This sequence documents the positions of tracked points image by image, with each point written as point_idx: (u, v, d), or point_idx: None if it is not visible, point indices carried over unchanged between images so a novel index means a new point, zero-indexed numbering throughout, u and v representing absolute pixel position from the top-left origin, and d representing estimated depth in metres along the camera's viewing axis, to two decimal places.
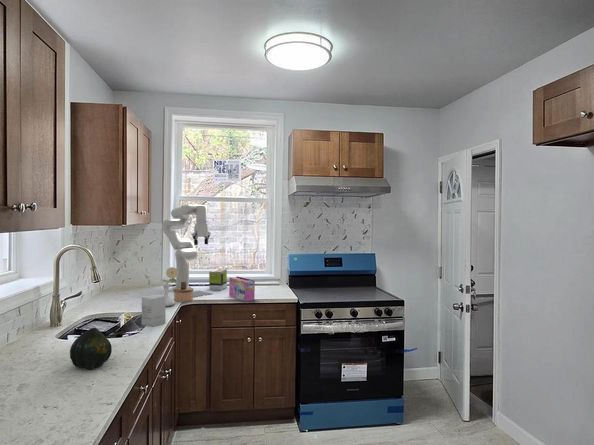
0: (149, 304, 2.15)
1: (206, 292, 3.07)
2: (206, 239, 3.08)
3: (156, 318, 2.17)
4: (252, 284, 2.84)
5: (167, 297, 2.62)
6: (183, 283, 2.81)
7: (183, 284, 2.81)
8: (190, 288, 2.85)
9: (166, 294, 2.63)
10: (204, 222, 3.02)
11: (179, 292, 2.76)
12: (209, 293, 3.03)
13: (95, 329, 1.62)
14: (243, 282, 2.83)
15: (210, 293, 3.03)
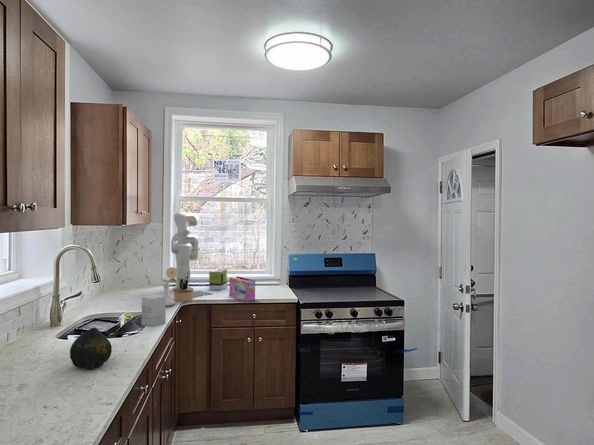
0: (149, 304, 2.15)
1: (206, 292, 3.07)
2: None
3: (156, 318, 2.17)
4: (252, 284, 2.84)
5: (167, 297, 2.62)
6: None
7: None
8: (190, 288, 2.85)
9: (166, 294, 2.63)
10: None
11: (179, 292, 2.76)
12: (209, 293, 3.03)
13: (95, 329, 1.62)
14: (244, 282, 2.83)
15: (210, 293, 3.03)
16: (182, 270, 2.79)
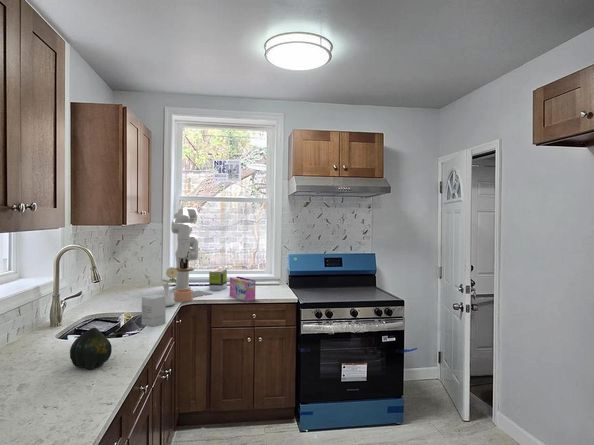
0: (149, 304, 2.15)
1: (206, 292, 3.07)
2: None
3: (156, 318, 2.17)
4: (252, 284, 2.84)
5: (167, 297, 2.62)
6: (183, 262, 2.81)
7: None
8: (190, 268, 2.85)
9: (166, 294, 2.63)
10: None
11: (179, 271, 2.76)
12: (209, 293, 3.03)
13: (95, 329, 1.62)
14: (244, 282, 2.83)
15: (210, 293, 3.03)
16: (182, 249, 2.79)
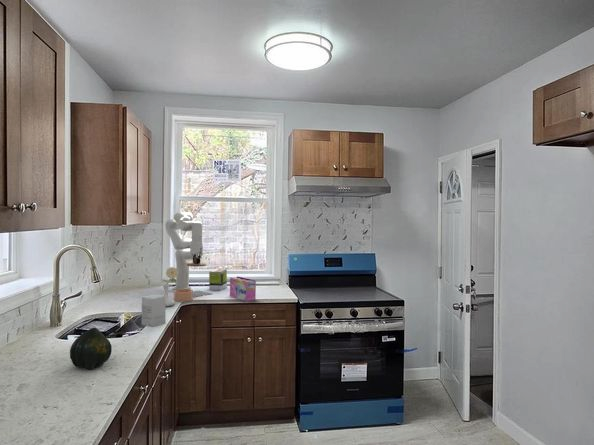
0: (149, 304, 2.15)
1: (206, 292, 3.07)
2: None
3: (156, 318, 2.17)
4: (253, 284, 2.84)
5: (167, 297, 2.62)
6: None
7: None
8: (202, 263, 3.04)
9: (166, 294, 2.63)
10: None
11: None
12: (209, 293, 3.03)
13: (95, 329, 1.62)
14: (244, 282, 2.83)
15: (210, 293, 3.03)
16: (195, 246, 2.98)
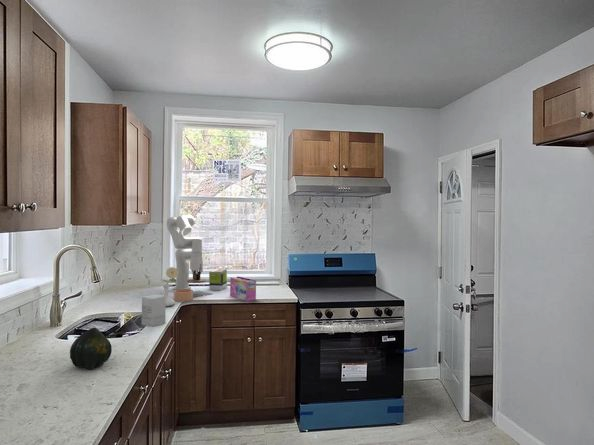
0: (149, 304, 2.15)
1: (206, 292, 3.07)
2: None
3: (156, 318, 2.17)
4: (253, 284, 2.84)
5: (167, 297, 2.62)
6: (196, 274, 3.00)
7: None
8: (202, 279, 3.04)
9: (166, 294, 2.63)
10: None
11: (193, 282, 2.95)
12: (209, 293, 3.03)
13: (95, 329, 1.62)
14: (244, 282, 2.83)
15: (210, 293, 3.03)
16: (195, 262, 2.98)
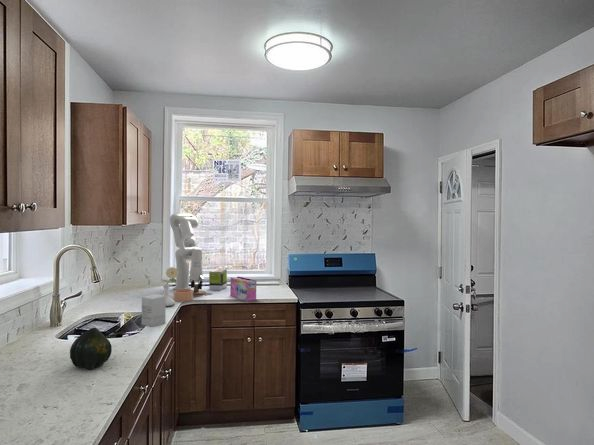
0: (149, 304, 2.15)
1: (206, 292, 3.07)
2: (194, 282, 3.05)
3: (156, 318, 2.17)
4: (253, 284, 2.84)
5: (167, 297, 2.62)
6: (196, 286, 3.00)
7: (196, 287, 3.00)
8: (202, 291, 3.04)
9: (166, 294, 2.63)
10: None
11: None
12: (209, 293, 3.03)
13: (95, 329, 1.62)
14: (245, 282, 2.83)
15: (210, 293, 3.03)
16: (195, 272, 2.98)
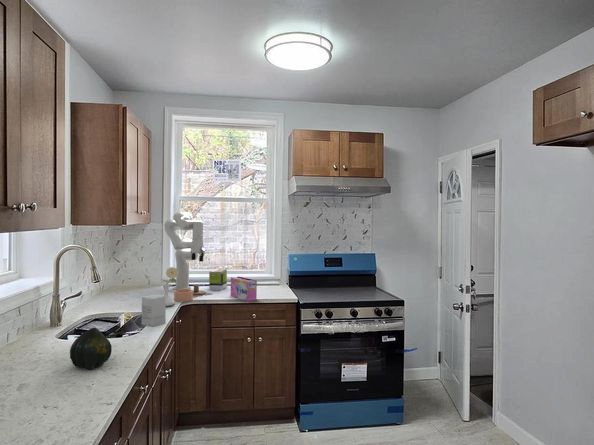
0: (149, 304, 2.15)
1: (206, 292, 3.07)
2: (194, 255, 3.06)
3: (156, 318, 2.17)
4: (254, 284, 2.85)
5: (167, 297, 2.62)
6: (196, 286, 3.00)
7: (196, 287, 3.00)
8: (202, 291, 3.04)
9: (166, 294, 2.63)
10: None
11: None
12: (209, 293, 3.03)
13: (95, 329, 1.62)
14: (245, 282, 2.83)
15: (210, 293, 3.03)
16: (196, 245, 2.98)
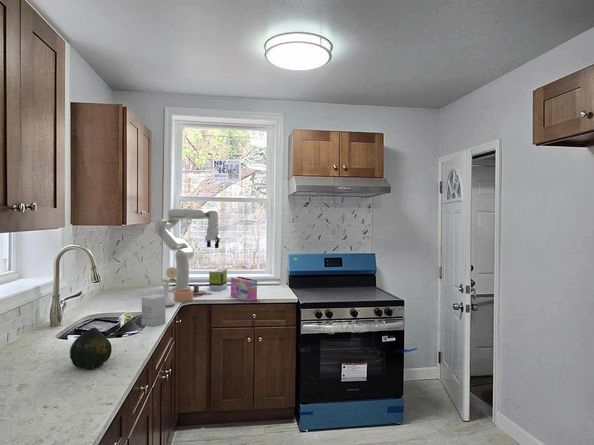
0: (149, 304, 2.15)
1: (206, 292, 3.07)
2: (210, 242, 3.20)
3: (156, 318, 2.17)
4: (254, 284, 2.85)
5: (167, 297, 2.62)
6: (196, 286, 3.00)
7: (196, 287, 3.00)
8: (202, 291, 3.04)
9: (166, 294, 2.63)
10: None
11: None
12: (209, 293, 3.03)
13: (95, 329, 1.62)
14: (245, 282, 2.83)
15: (210, 293, 3.03)
16: (212, 232, 3.12)
